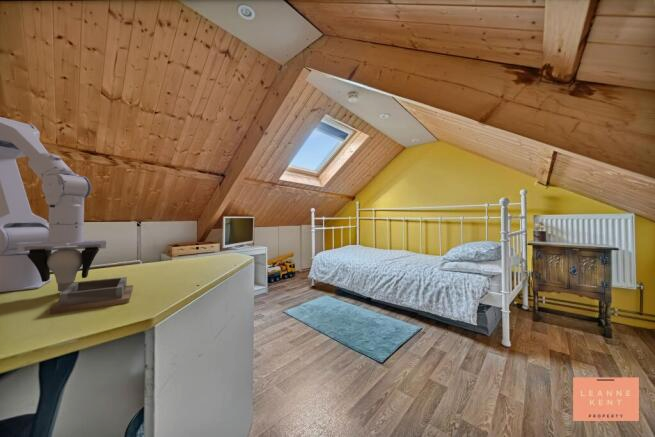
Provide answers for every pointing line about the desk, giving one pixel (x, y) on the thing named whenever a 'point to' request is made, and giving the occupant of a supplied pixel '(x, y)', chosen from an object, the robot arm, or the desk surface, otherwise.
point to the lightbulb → (65, 266)
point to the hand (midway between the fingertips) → (65, 278)
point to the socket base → (93, 295)
